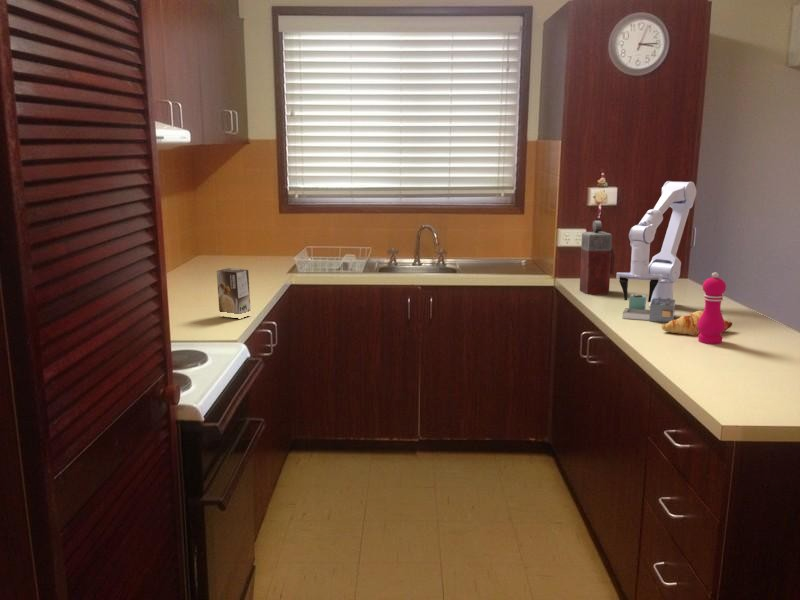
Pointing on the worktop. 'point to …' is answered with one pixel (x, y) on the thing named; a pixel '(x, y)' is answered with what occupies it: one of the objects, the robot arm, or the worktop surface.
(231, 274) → the coffee box
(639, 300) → the teal block with knob
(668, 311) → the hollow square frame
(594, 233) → the red canister
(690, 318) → the croissant
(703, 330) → the pepper mill
